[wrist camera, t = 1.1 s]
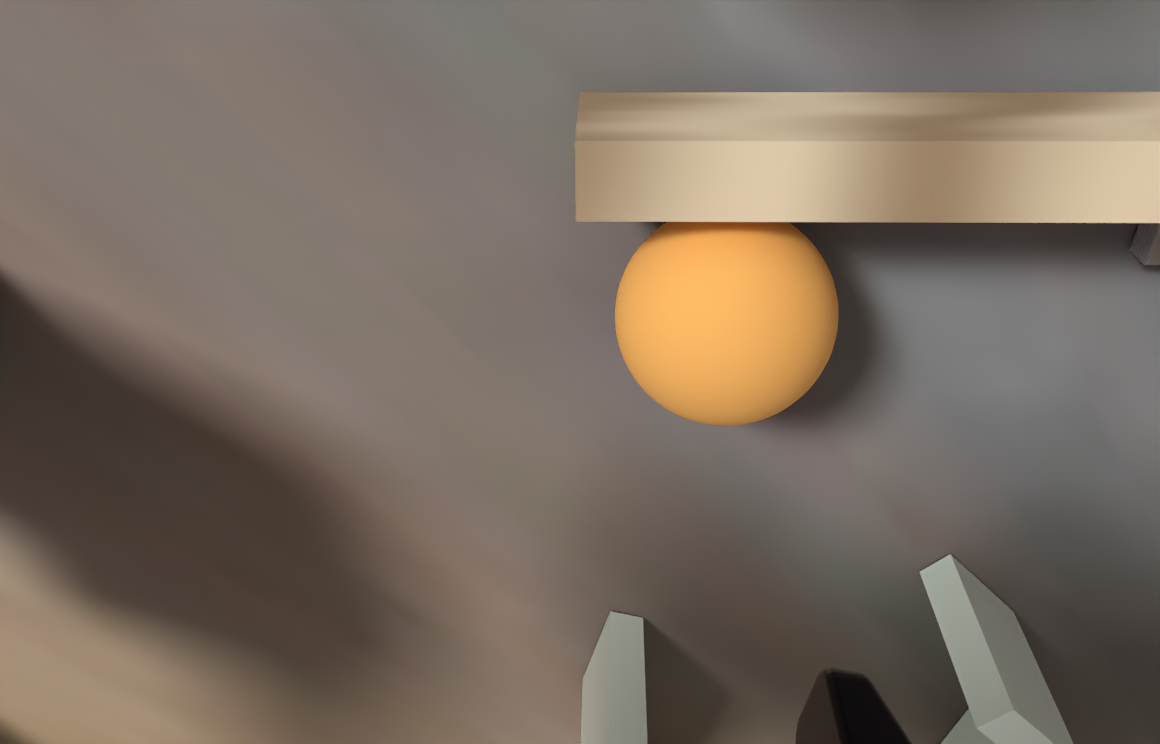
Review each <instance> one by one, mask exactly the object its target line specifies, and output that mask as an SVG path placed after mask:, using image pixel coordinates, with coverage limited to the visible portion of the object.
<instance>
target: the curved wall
mask: <svg viewBox="0 0 1160 744" xmlns="http://www.w3.org/2000/svg"><path fill="white" fill-rule="evenodd" d="M920 575H921V577H922V580H923V583H924V586H925V588H926V591H927V594H928V597H929V599H930V602H931V605H932V608H933V610H934V613H935V616H936V619H937V621H938V624H939V627H940V630H941V632H942V635H943V638H944V641H945V643H946V646H947V649H948V652H949V654H950V657H951V660H952V663H953V665H954V668H955V671H956V674H957V676H958V679H959V682H960V685H961V687H962V690H963V693H964V696H965V698H966V701H967V704H968V707H969V709H968V710H967V711H966V712H965V714H964V715H963V716H962V717H961V719H960V720H959V721H958V722H957V724H956V725H955V726H954V728H953V729H952V730H951V731H950V733H949V734H948V735H947V736H946V738H945V739H944V740H943V741H942V743H941V744H1073V741H1072V739H1071V737H1070V735H1069V733H1068V730H1067V728H1066V726H1065V724H1064V722H1063V719H1062V717H1061V715H1060V713H1059V711H1058V708H1057V706H1056V704H1055V702H1054V700H1053V697H1052V695H1051V693H1050V691H1049V689H1048V686H1047V684H1046V682H1045V680H1044V678H1043V675H1042V673H1041V671H1040V669H1039V667H1038V664H1037V662H1036V660H1035V658H1034V656H1033V653H1032V651H1031V649H1030V647H1029V645H1028V642H1027V640H1026V638H1025V636H1024V634H1023V631H1022V629H1021V627H1020V625H1019V622H1018V620H1017V618H1016V616H1015V614H1014V612H1013V611H1012V610H1011V609H1010V608H1009V607H1008V606H1007V605H1006V604H1005V603H1003V602H1002V601H1001V600H1000V599H999V598H998V597H997V596H996V595H995V594H994V593H992V592H991V591H990V590H989V589H988V588H987V587H986V586H985V585H984V584H983V583H982V582H980V581H979V580H978V579H977V578H976V577H975V576H974V575H973V574H972V573H971V572H969V571H968V570H967V569H966V568H965V567H964V566H963V565H962V564H961V563H960V562H959V561H957V560H956V559H955V558H954V557H953V556H952V555H951V554H950V555H948V556H946V557H944V558H943V559H941V560H939V561H937V562H936V563H934V564H932V565H931V566H929V567H927V568H925V569H924V570H922V571H920ZM581 744H647V717H646V688H645V659H644V630H643V618H642V617H637V616H632V615H627V614H622V613H617V612H612V611H610V613H609V616H608V618H607V621H606V623H605V626H604V628H603V630H602V633H601V635H600V638H599V640H598V643H597V645H596V648H595V650H594V653H593V655H592V658H591V660H590V662H589V665H588V667H587V670H586V672H585V675H584V677H583V692H582V724H581Z"/></svg>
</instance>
